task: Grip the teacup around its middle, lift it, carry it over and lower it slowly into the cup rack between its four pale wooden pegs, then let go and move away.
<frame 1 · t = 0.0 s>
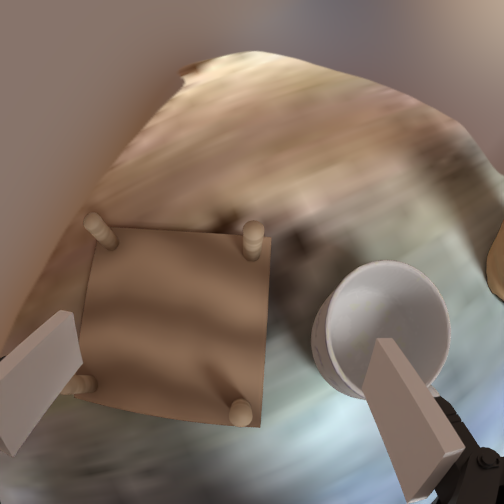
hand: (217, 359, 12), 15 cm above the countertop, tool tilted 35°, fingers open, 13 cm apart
teacup: (364, 355, 27), on the countertop
rack: (171, 323, 28), on the countertop
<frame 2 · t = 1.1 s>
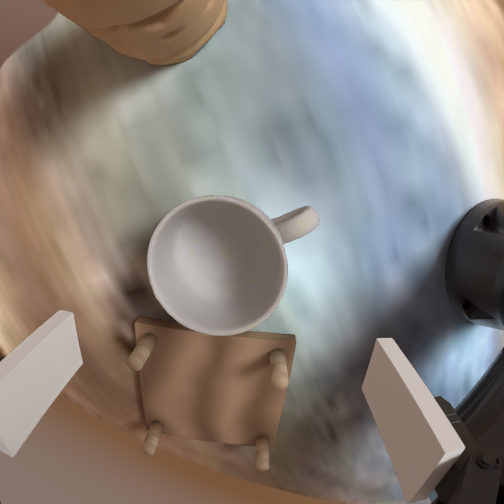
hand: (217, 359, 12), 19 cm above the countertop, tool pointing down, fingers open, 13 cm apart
container: (167, 17, 25), on the countertop
teacup: (241, 240, 31), on the countertop
rack: (212, 388, 35), on the countertop
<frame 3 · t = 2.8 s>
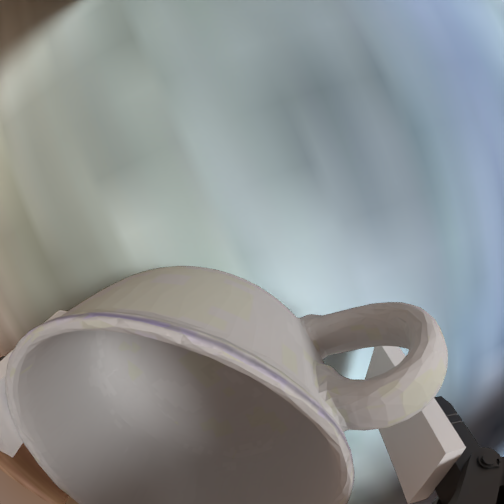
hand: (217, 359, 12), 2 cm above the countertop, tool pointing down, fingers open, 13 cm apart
teacup: (233, 341, 14), on the countertop
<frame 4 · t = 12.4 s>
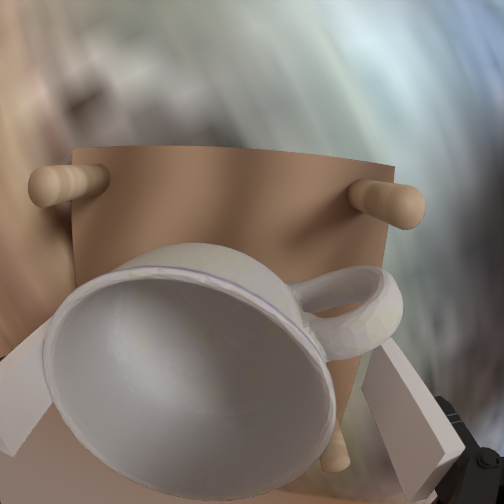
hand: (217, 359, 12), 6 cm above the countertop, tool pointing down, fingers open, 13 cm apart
teacup: (230, 311, 17), point 1 cm above the countertop, touching gripper, rack
rack: (221, 301, 18), on the countertop
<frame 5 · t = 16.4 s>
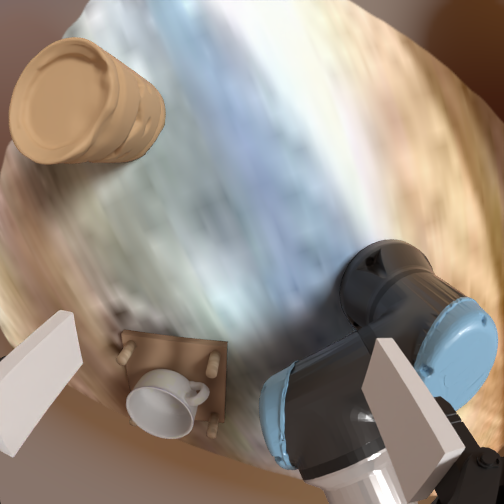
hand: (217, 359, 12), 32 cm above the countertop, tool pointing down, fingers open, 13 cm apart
container: (125, 119, 39), on the countertop
teacup: (178, 382, 49), point 1 cm above the countertop, touching rack
rack: (176, 378, 50), on the countertop
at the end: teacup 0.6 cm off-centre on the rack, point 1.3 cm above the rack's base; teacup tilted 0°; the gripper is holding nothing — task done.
